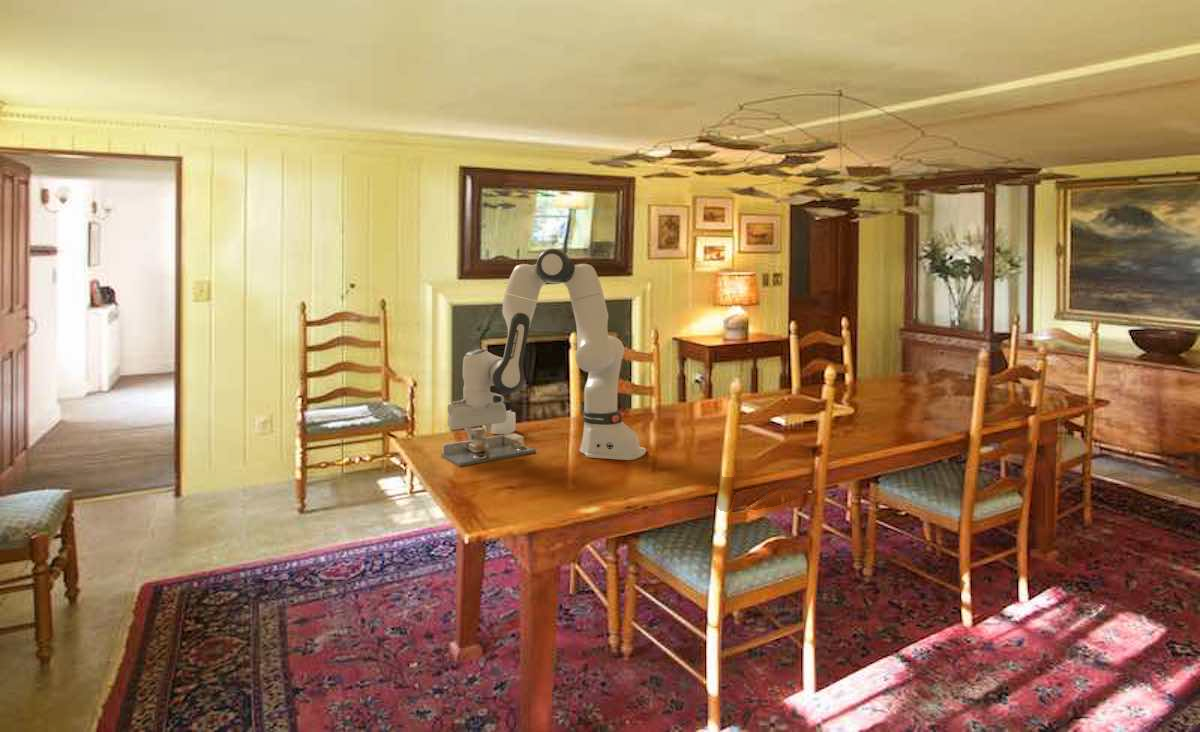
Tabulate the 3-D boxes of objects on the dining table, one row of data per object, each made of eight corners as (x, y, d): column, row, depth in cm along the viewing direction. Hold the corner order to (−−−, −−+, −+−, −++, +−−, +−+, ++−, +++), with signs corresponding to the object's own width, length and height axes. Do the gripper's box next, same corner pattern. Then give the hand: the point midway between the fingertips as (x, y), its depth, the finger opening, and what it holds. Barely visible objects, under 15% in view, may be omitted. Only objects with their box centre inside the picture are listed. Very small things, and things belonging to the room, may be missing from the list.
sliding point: (481, 447, 254) (481, 427, 253) (494, 453, 246) (494, 432, 245) (468, 449, 251) (467, 429, 250) (481, 455, 243) (480, 435, 242)
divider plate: (515, 443, 263) (515, 432, 263) (535, 452, 252) (535, 441, 251) (441, 456, 248) (440, 444, 247) (459, 466, 236) (458, 454, 236)
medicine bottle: (516, 430, 282) (515, 399, 280) (508, 435, 275) (508, 403, 274) (498, 429, 284) (497, 398, 282) (490, 433, 277) (490, 402, 275)
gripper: (451, 403, 240) (452, 445, 242) (508, 396, 251) (509, 436, 253) (443, 400, 245) (445, 441, 247) (499, 393, 256) (500, 432, 258)
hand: (477, 438), depth 250 cm, fingers closed on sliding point, 3 cm apart
